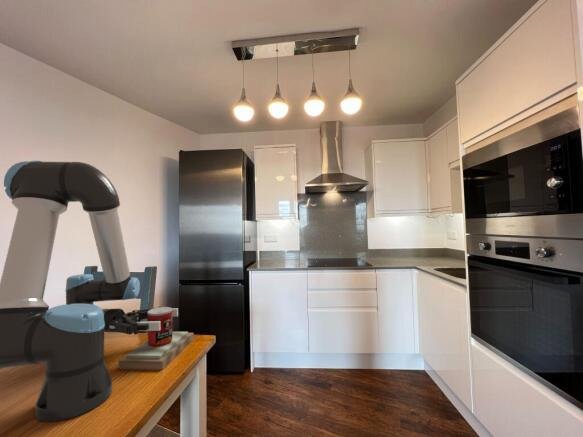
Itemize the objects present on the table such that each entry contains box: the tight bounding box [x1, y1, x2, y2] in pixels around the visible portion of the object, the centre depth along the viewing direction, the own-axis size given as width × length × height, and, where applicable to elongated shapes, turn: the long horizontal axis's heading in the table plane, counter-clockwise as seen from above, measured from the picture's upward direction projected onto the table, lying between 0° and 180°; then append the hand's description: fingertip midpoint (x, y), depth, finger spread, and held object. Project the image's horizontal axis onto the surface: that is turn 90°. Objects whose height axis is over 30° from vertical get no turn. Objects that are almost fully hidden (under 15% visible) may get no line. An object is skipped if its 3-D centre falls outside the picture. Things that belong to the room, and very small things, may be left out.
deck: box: [118, 331, 195, 371], centre depth 94 cm, size 22×14×4 cm, turn 176°
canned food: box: [147, 306, 173, 347], centre depth 94 cm, size 8×8×11 cm
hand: (169, 318), depth 94 cm, fingers open, 13 cm apart
